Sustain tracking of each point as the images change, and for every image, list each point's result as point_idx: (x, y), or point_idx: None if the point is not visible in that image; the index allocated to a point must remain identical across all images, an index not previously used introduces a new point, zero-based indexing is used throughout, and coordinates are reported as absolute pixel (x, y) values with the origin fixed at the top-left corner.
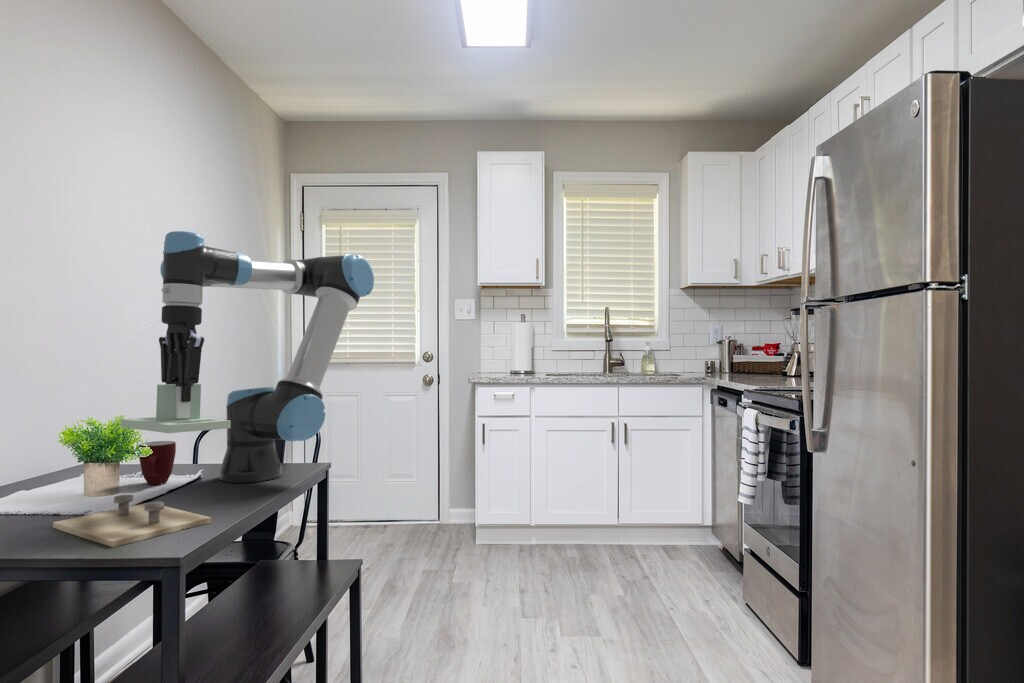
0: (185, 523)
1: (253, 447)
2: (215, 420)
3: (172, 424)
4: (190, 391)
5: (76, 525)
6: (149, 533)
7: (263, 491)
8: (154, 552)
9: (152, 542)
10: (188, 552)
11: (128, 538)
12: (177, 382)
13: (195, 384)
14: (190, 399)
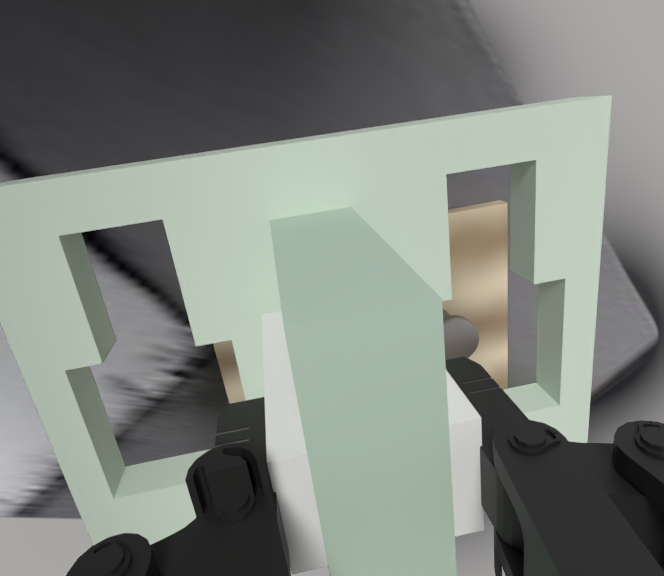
0: (505, 270)
1: None
2: (537, 176)
3: (576, 436)
4: (514, 408)
5: None
6: (506, 347)
7: None
8: (596, 360)
9: (534, 346)
10: (651, 318)
11: (507, 385)
12: (280, 530)
13: (443, 367)
14: (478, 365)
